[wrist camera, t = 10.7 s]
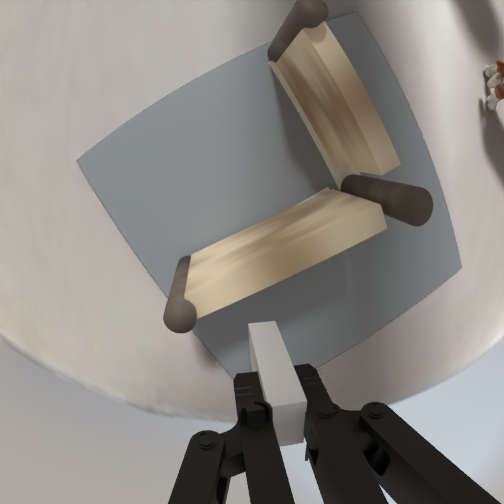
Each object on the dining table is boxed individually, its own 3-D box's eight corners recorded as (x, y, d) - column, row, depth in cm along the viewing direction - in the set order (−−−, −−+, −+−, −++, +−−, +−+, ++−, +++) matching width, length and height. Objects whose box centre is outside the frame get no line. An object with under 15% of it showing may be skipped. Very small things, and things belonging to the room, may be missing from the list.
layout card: (78, 160, 17) (75, 160, 17) (354, 13, 16) (357, 11, 16) (252, 398, 24) (253, 402, 24) (459, 266, 23) (462, 268, 23)
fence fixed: (260, 49, 16) (287, -3, 9) (285, 39, 16) (323, -13, 9) (347, 206, 20) (410, 233, 13) (369, 193, 20) (437, 214, 13)
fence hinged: (332, 187, 19) (386, 204, 12) (339, 207, 19) (394, 233, 13) (173, 261, 19) (157, 312, 13) (184, 280, 19) (173, 337, 13)
